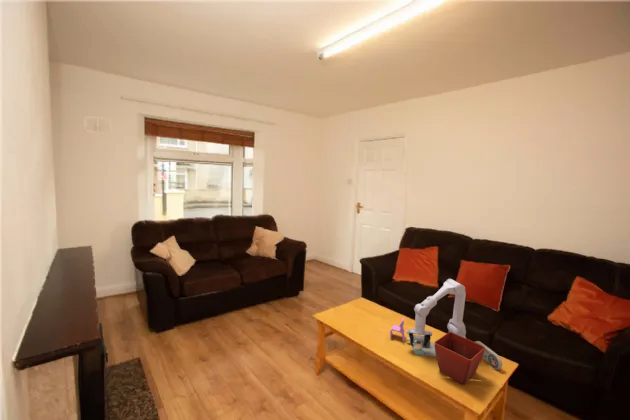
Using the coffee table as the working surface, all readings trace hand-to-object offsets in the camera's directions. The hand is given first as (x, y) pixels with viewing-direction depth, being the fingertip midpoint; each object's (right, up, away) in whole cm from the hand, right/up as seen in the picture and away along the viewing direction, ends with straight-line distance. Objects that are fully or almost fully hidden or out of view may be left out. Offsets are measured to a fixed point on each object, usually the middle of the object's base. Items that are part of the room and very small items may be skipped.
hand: (418, 345), depth 169 cm
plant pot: (+15, -7, -17) cm, 23 cm away
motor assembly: (+4, -4, +4) cm, 7 cm away
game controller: (+38, -7, -5) cm, 39 cm away
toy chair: (-8, -3, +14) cm, 17 cm away
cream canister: (0, -3, 0) cm, 3 cm away
